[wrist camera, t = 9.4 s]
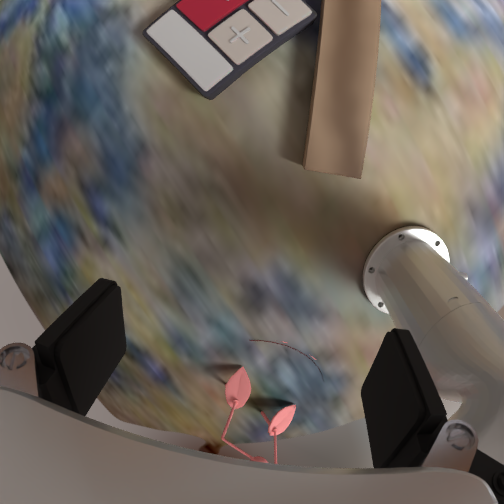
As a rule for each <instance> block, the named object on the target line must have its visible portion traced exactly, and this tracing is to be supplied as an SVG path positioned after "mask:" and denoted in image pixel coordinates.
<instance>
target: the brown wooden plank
mask: <svg viewBox="0 0 504 504" xmlns="http://www.w3.org/2000/svg"><path fill="white" fill-rule="evenodd" d="M380 15H381V0H322V2H321V13H320V23H319V33H318V43H317V52H316V61H315V70H314V79H313V87H312V95H311V103H310V111H309V119H308V127H307V134H306V142H305V149H304V156H303V163H302V166H303V168H304V169H305V170H311V171H317V172H324V173H330V174H336V175H342V176H347V177H353V178H358V179H361V175H362V169H363V163H364V157H365V151H366V145H367V139H368V132H369V125H370V118H371V111H372V103H373V95H374V87H375V78H376V68H377V57H378V46H379V32H380Z"/></svg>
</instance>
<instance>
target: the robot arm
mask: <svg viewBox="0 0 504 504" xmlns="http://www.w3.org/2000/svg"><path fill="white" fill-rule="evenodd" d="M400 234H401V235H400ZM399 235H400V236H399ZM369 268H370V269H369ZM467 279H468V275H467V273H462V272H458V271H457V270H456V269H455V268H454V267H453V266H452V265H451V264H450V260H449V253H448V250H447V247H446V245H445V244H444V242H443V240H442V239H441V238H440V237H439V236H438V235H437V234H435V233H434V232H433V231H431V230H429V229H427V228H425V227H420V226H407V227H403V228H399V229H397V230H395V231H392V232H390V233H389V234H388V235H386V236H385V237H383V238H382V239H381V240H380V241H379V242H378V243H377V244H376V245H375V246H374V248H373V249H372V250H371V252H370V254H369V256H368V258H367V260H366V262H365V266H364V269H363V287H364V290H365V293H366V295H367V297H368V299H369V301H370V302H371V303H372V305H373V306H374V307H375V308H377V309H378V310H380V311H382V312H384V313H387V314H390V316H391V318H392V320H393V322H394V324H395V326H396V328H394V329H392V330H391V332H387V333H386V335H385V337H384V340H383V342H382V344H381V347H380V349H379V351H378V353H377V356H376V358H375V360H374V362H373V364H372V367H371V369H370V371H369V373H368V375H367V377H366V379H365V381H364V383H363V386H362V389H361V398H362V403H363V408H364V413H365V419H366V424H367V430H368V436H369V442H370V448H371V454H372V460H373V466H374V468H371V469H370V468H369V469H359V468H355V469H354V468H352V469H351V468H318V467H303V466H291V465H280V464H272V463H264V462H256V461H249V460H242V459H236V458H230V457H225V456H220V455H215V454H210V453H205V452H200V451H195V450H191V449H187V448H182V447H179V446H175V445H171V444H167V443H164V442H160V441H156V440H152V439H149V438H146V437H143V436H139V435H136V434H133V433H130V432H127V431H124V430H121V429H118V428H115V427H112V426H109V425H107V424H104V423H101V422H98V421H96V420H93V419H90V418H88V417H85V416H86V414H87V412H88V411H89V409H90V408H91V406H92V404H93V403H94V401H95V399H96V398H97V396H98V395H99V393H100V392H101V390H102V388H103V387H104V385H105V384H106V382H107V381H108V379H109V377H110V376H111V374H112V373H113V371H114V370H115V368H116V366H117V365H118V363H119V362H120V360H121V359H122V357H123V356H124V354H125V351H126V337H125V329H124V319H123V308H122V297H121V288H120V287H119V286H117V283H116V282H115V281H112V280H108V279H104V278H100V279H99V280H97V281H96V282H95V283H94V284H93V285H92V286H91V287H90V288H89V289H88V290H87V291H86V292H85V293H83V294H82V295H81V296H80V297H79V298H78V299H77V300H76V301H75V302H74V303H73V304H72V305H71V306H70V307H69V308H68V309H67V310H66V311H65V312H64V313H63V314H62V315H61V316H59V317H58V318H57V319H56V320H55V321H54V322H53V323H52V324H51V325H50V326H49V327H48V328H47V329H46V330H45V331H44V333H42V335H41V336H40V337H39V338H38V339H37V340H36V341H35V344H36V345H35V346H34V347H33V348H31V347H30V346H28V345H26V344H24V343H12V344H8V345H6V346H4V347H3V348H2V349H0V504H504V320H503V319H502V318H501V317H500V316H499V315H498V313H497V312H496V311H495V310H494V309H493V308H492V307H491V306H490V304H489V303H488V302H487V301H486V300H485V299H484V298H483V297H482V296H481V295H480V294H479V293H478V291H477V290H476V289H475V288H474V287H473V286H472V285H471V284H470V283H469V282H468V281H467ZM441 398H442V399H445V400H449V401H453V402H459V403H462V404H461V406H460V408H459V409H458V410H457V412H456V413H455V414H453V415H452V416H451V417H450V418H449V419H448V420H447V418H446V415H447V413H446V410H445V408H444V405H443V403H442V401H441Z"/></svg>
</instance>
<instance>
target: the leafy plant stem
mask: <svg viewBox="0 0 504 504" xmlns="http://www.w3.org/2000/svg"><path fill="white" fill-rule="evenodd" d="M249 341H263V340H249ZM265 342H270V341H265ZM280 342H282V341H280ZM272 343H276V342H272ZM284 343H286V342H284ZM277 344H279V343H277ZM281 345H283V344H281ZM285 346H287V345H285ZM288 347H289V346H288ZM290 348H291V347H290ZM292 349H294V348H292ZM295 350H296V349H295ZM297 351H298V350H297ZM299 352H300V351H299ZM301 353H302V352H301ZM302 354H303V353H302ZM304 355H305V354H304ZM307 357H308V356H307ZM308 358H309V357H308ZM309 359H310V358H309ZM314 359H315V358H314ZM315 360H316V359H315ZM313 362H314V361H313ZM316 366H317V365H316ZM317 367H318V366H317ZM319 370H320V369H319ZM320 372H321V371H320ZM225 387H226V389H225V395H226V400H227V403H228V404H229V405H230V406H231V408H232V410H231V412H230V415H229V418H228V420H227V423H226V426H225V428H224V431H223V434H222V436H221V438H222V439H221V440H223V441H224V442H226V443H227V444H229V445H230V446H232V447H233V448H235V449H236V450H238V451H239V452H241V453H242V454H244V455H246V456H247V457H249V458H250V459H251V460H250V461H256V462H264V463H268V462H267V460H265V459H264V458H263V457H259V456H258V457H252V456H250V455H249V454H247V453H245V452H244V451H242V450H241V449H239V448H238V447H236V446H235V445H233V444H232V443H230V442H229V441H227V440H226V439H224V437H225V434H226V431H227V428H228V426H229V423H230V420H231V417H232V415H233V412H234V409H238V408H240V407H243V406H244V404H245V403H246V401H247V400H248V398H249V396H250V393H251V384H250V380H249V378H248V375H247V373H246V371H245V369H244V367H242V368H240V369H239V370H238V371H237V372H236V373H235V374H234V375H233V376H231V377H230V379H229V381H228V382H227V384H225ZM295 409H296V405H290V406H289V407H288V406H287V407H284V408H282V409H281V410H280V411H278V412H277V413H276V414H275V416H274V417H273V418H272V420H271V422H270V421H269V419H268V418H267V416H266V415H265V413H264V412H263V411H261V414H262V416H263V417H264V419H265V420H266V422H267V423H268V425H269V426H268V433H270V434H269V435H273V436H274V450H275V451H274V453H275V454H274V456H275V464H277V444H276V435H278V434H280V433H282V432H283V431H284V430H285V429H286V428H287V427H288V425H289V424H290V422H291V421H292V418H293V415H294V412H295Z"/></svg>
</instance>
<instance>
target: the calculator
mask: <svg viewBox="0 0 504 504" xmlns="http://www.w3.org/2000/svg"><path fill="white" fill-rule="evenodd" d="M316 17H317V13H316V12H315V11H314V10H313V9H312V8H311V7H310V6H309V5H308V4H307V3H306V2H305V1H304V0H179V1H178V2H177V3H175V4H174V5H173V6H172V7H170V8H169V9H168V10H167V11H166V12H164V13H163V14H162V15H161V16H160V17H158V18H157V19H156V20H155V21H154V22H153V23H151V24H150V25H149V26H148V27H147V28H146V29H145V30H144V31H143V35H144V36H145V37H146V38H147V39H148V40H149V41H150V42H151V43H152V44H153V45H154V46H155V47H156V48H157V49H158V50H159V51H160V52H161V53H162V54H163V55H164V56H165V57H166V58H167V59H168V60H169V61H170V62H171V63H172V64H173V65H174V66H175V67H176V68H177V69H178V70H179V71H180V72H181V73H182V74H183V76H184V77H185V78H186V79H187V80H188V81H189V82H190V83H191V84H192V85H193V86H194V87H195V88H196V89H197V90H198V91H199V92H200V93H201V94H202V95H203V96H204V97H206V98H207V99H209V100H212V99H214V98H215V97H216V96H217V95H219V94H220V93H221V92H222V91H223V90H225V89H226V88H227V87H228V86H229V85H231V84H232V83H233V82H234V81H235V80H237V79H238V78H239V77H240V76H241V75H242V74H243V73H245V72H246V71H247V70H248V69H250V68H251V67H252V66H254V65H255V64H256V63H258V62H259V61H260V60H262V59H263V58H264V57H266V56H267V55H268V54H270V53H271V52H273V51H274V50H275V49H277V48H278V47H280V46H281V45H282V44H284V43H285V42H287V41H288V40H290V39H291V38H292V37H294V36H295V35H297V34H298V33H300V32H301V31H303V30H304V29H306V28H307V27H309V26H310V25H312V24H313V22H314V21H315V19H316Z"/></svg>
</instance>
